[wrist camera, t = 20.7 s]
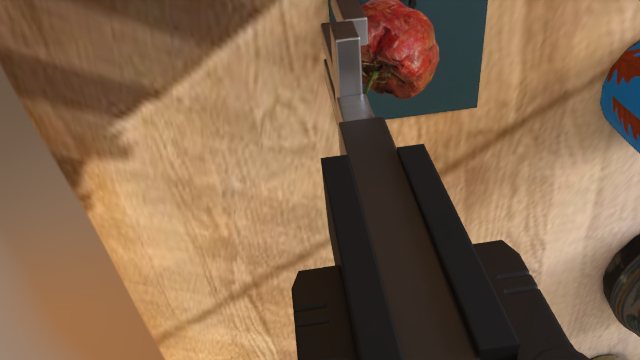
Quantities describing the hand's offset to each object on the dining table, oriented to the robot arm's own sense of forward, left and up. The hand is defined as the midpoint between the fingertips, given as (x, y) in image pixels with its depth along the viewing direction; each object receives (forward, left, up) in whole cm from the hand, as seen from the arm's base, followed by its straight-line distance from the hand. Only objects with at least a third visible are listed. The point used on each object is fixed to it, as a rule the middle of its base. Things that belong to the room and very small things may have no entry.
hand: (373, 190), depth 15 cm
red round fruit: (+7, +2, -24) cm, 25 cm away
